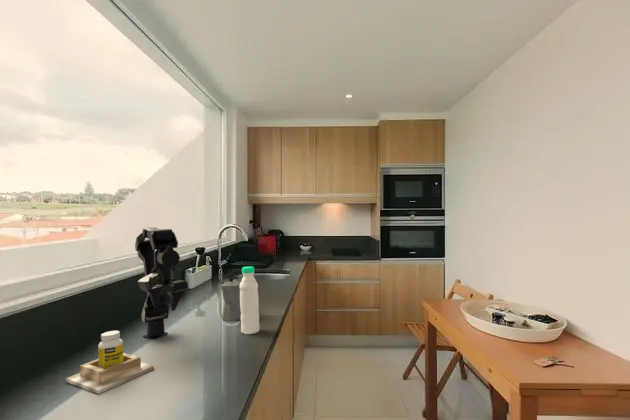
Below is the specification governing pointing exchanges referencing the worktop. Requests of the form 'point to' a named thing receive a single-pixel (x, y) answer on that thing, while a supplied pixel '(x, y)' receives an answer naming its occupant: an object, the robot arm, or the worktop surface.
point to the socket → (108, 374)
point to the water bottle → (249, 302)
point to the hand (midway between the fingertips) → (164, 309)
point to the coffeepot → (231, 300)
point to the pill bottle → (110, 349)
